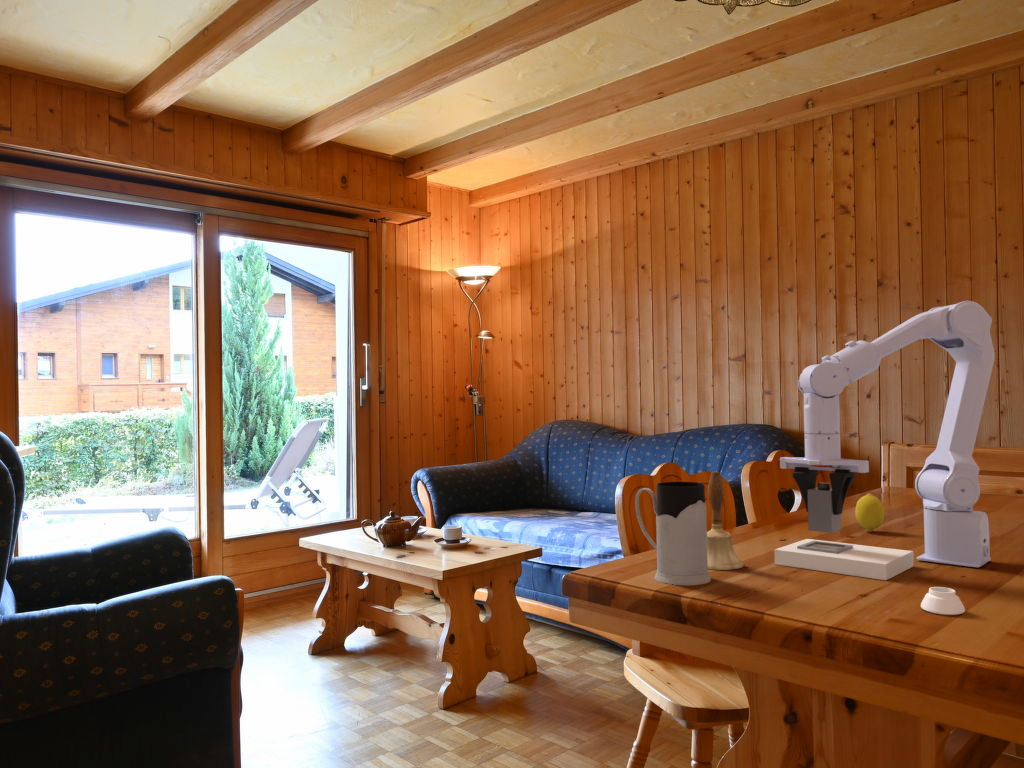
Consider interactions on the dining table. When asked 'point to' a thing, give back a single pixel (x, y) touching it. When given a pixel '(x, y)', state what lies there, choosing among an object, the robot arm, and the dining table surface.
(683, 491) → the glass holder
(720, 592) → the dining table surface
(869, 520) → the lemon
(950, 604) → the white upside-down bowl
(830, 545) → the socket board
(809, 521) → the plug
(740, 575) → the dining table surface
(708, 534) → the hand bell
